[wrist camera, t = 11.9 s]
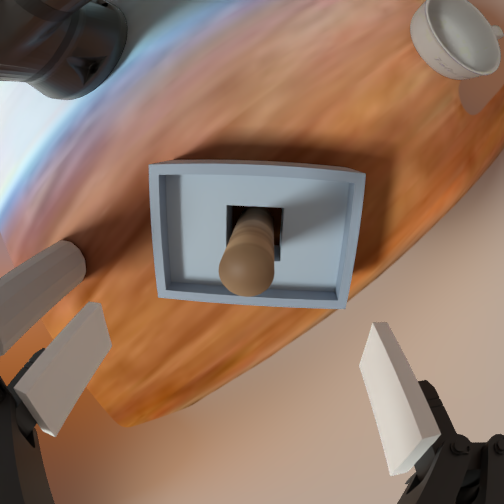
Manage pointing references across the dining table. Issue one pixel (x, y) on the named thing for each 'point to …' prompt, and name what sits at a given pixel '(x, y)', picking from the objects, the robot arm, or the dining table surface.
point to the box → (261, 195)
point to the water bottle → (37, 289)
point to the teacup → (456, 39)
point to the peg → (249, 254)
